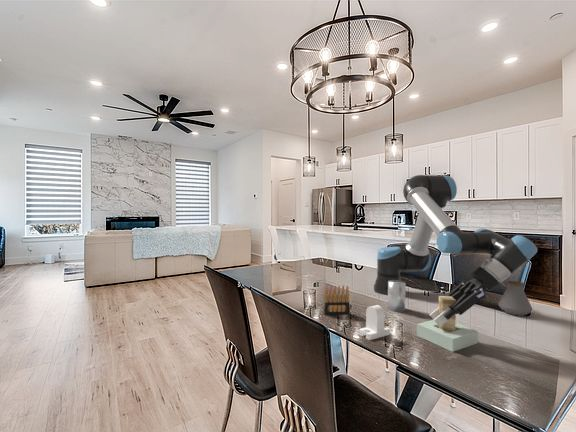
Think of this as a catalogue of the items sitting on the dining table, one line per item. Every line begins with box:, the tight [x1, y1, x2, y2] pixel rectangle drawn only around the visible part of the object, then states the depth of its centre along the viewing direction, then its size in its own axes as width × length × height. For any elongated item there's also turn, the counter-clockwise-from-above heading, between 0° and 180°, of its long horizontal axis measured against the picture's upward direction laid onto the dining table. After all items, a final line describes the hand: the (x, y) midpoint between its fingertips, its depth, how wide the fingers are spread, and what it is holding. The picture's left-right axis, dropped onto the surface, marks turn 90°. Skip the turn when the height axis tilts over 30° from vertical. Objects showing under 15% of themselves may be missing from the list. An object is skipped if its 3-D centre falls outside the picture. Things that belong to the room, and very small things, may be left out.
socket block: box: [416, 319, 479, 353], centre depth 98 cm, size 13×13×4 cm
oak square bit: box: [438, 295, 457, 332], centre depth 98 cm, size 4×4×12 cm
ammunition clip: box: [323, 284, 351, 316], centre depth 122 cm, size 11×2×12 cm, turn 93°
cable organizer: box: [358, 304, 391, 341], centre depth 102 cm, size 5×10×10 cm, turn 119°
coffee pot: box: [497, 280, 533, 317], centre depth 128 cm, size 21×12×15 cm, turn 11°
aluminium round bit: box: [387, 280, 406, 313], centre depth 128 cm, size 7×7×12 cm
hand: (434, 320), depth 99 cm, fingers closed on oak square bit, 4 cm apart
